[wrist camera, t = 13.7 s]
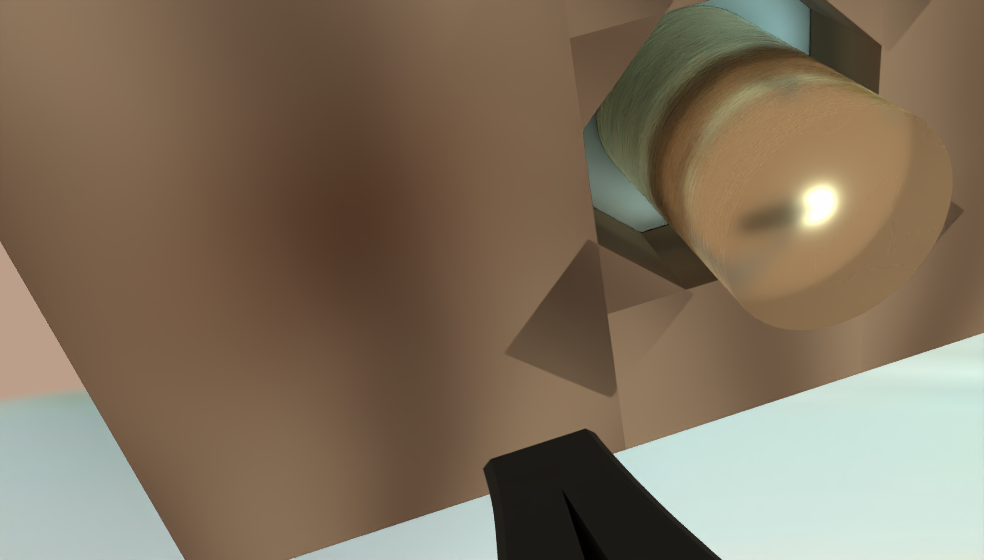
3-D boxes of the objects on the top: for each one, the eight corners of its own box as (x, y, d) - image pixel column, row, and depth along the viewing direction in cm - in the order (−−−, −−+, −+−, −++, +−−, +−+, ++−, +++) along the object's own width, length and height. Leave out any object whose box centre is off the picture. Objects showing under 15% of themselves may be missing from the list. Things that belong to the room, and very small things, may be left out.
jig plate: (202, 506, 22) (201, 587, 20) (-116, -90, 14) (-172, -55, 12) (943, 272, 24) (1009, 324, 22) (1020, -359, 16) (1134, -367, 14)
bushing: (610, 207, 21) (733, 360, 16) (582, 37, 18) (715, 153, 13) (773, 154, 21) (945, 287, 16) (765, -19, 19) (960, 74, 14)
